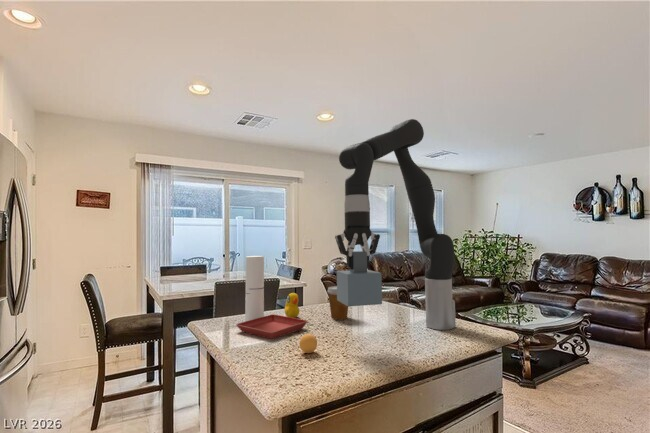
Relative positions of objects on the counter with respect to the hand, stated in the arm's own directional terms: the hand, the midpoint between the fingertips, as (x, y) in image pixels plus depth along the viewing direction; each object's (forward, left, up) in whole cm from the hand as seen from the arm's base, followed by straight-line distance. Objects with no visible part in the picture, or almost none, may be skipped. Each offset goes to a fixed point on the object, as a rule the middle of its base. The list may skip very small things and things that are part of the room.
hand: (358, 268), depth 103 cm
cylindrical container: (+27, -44, -23) cm, 57 cm away
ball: (+15, 0, -21) cm, 26 cm away
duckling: (+12, -44, -23) cm, 51 cm away
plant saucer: (+22, -27, -24) cm, 42 cm away
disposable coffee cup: (-6, -38, -23) cm, 45 cm away
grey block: (0, 0, -10) cm, 10 cm away
